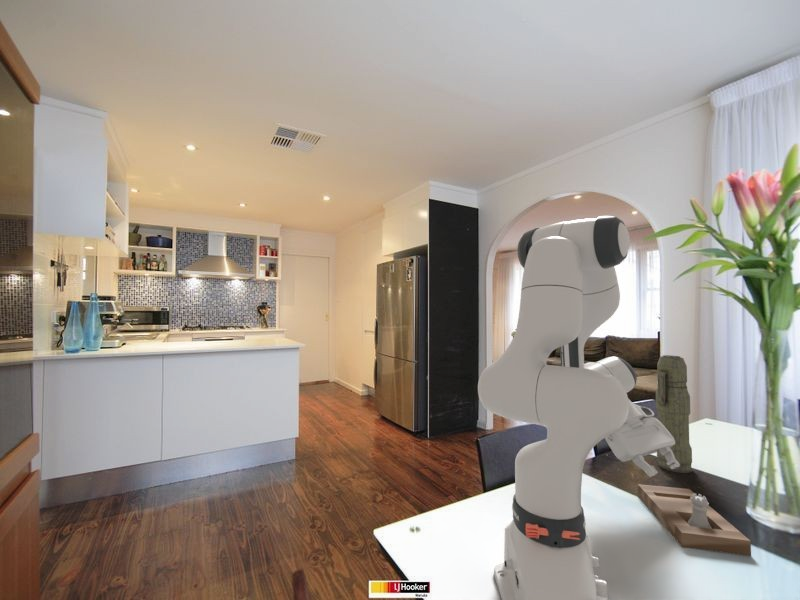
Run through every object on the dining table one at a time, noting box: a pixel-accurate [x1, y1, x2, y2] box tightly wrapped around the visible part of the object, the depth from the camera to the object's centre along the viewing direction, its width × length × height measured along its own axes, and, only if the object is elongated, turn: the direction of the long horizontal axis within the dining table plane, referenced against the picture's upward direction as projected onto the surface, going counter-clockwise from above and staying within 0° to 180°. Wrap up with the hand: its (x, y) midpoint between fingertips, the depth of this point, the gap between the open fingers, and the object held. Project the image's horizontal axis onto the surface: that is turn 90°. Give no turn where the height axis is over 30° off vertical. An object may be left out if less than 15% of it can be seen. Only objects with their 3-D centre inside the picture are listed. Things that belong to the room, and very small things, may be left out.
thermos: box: [655, 354, 693, 474], centre depth 115 cm, size 9×12×35 cm
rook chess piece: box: [688, 493, 712, 529], centre depth 80 cm, size 4×4×8 cm
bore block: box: [637, 483, 752, 557], centre depth 84 cm, size 22×12×3 cm, turn 167°
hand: (665, 471), depth 86 cm, fingers open, 8 cm apart
